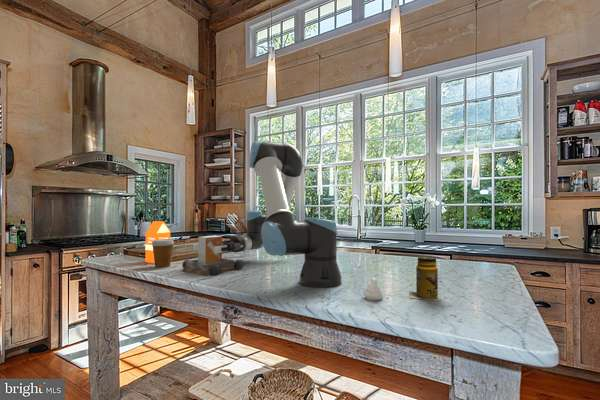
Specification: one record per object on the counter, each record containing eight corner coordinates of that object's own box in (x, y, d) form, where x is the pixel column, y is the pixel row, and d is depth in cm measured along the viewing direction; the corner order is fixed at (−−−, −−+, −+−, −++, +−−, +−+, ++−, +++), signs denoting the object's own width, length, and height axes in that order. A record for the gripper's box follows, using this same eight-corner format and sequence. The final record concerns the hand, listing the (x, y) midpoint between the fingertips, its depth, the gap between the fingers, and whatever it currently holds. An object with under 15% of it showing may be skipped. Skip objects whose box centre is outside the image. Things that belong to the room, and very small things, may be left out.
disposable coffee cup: (168, 268, 135) (168, 241, 136) (146, 268, 135) (147, 241, 136) (177, 264, 145) (177, 239, 145) (157, 264, 145) (157, 239, 145)
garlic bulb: (384, 280, 90) (366, 280, 90) (384, 300, 90) (366, 301, 90) (379, 276, 96) (361, 276, 95) (379, 295, 95) (361, 295, 95)
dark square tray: (245, 268, 136) (245, 259, 136) (211, 276, 120) (211, 266, 121) (215, 263, 147) (215, 255, 148) (180, 270, 132) (180, 260, 132)
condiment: (440, 301, 89) (440, 260, 90) (409, 298, 92) (409, 258, 92) (437, 294, 96) (437, 256, 97) (408, 292, 99) (408, 254, 99)
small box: (205, 269, 127) (205, 237, 128) (197, 266, 132) (197, 236, 132) (222, 266, 133) (222, 236, 133) (214, 264, 138) (214, 235, 138)
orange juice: (156, 263, 147) (156, 221, 148) (145, 261, 152) (145, 221, 152) (170, 261, 154) (170, 221, 154) (159, 259, 159) (159, 220, 159)
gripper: (259, 253, 140) (223, 260, 123) (222, 249, 154) (185, 255, 137) (259, 237, 140) (223, 241, 123) (222, 234, 154) (185, 238, 137)
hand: (203, 248), depth 130 cm, fingers open, 13 cm apart
